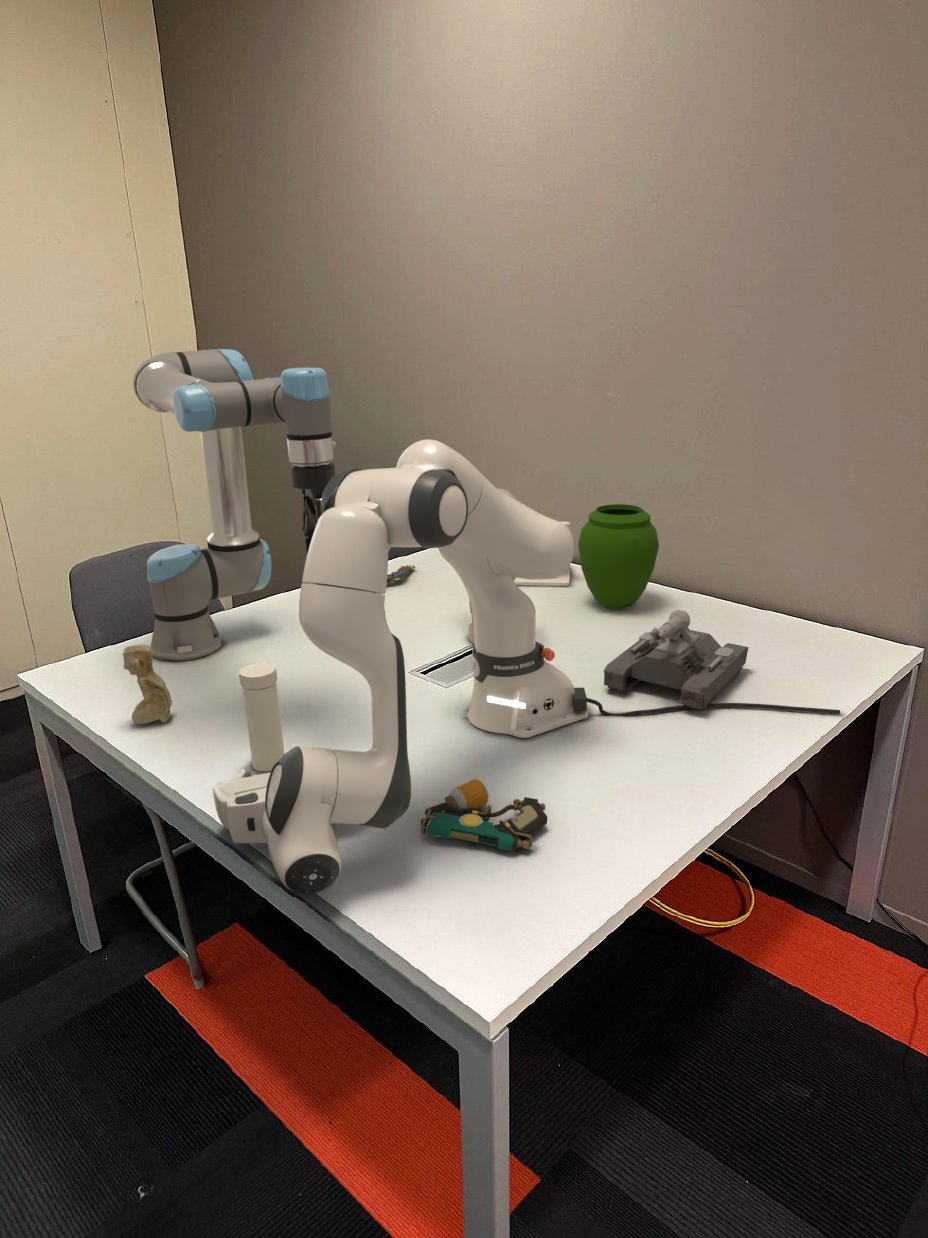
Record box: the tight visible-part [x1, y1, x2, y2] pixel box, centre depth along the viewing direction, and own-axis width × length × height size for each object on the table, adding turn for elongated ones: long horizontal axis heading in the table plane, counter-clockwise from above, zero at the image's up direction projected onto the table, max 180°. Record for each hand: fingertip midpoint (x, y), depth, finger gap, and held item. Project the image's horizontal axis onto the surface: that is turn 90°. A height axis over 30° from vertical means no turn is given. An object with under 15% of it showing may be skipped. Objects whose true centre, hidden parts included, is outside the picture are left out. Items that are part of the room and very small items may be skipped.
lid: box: [238, 662, 278, 689], centre depth 140 cm, size 6×6×2 cm
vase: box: [577, 503, 660, 610], centre depth 210 cm, size 20×20×24 cm
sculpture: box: [122, 644, 173, 725], centre depth 159 cm, size 6×7×15 cm
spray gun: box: [420, 778, 548, 852], centre depth 125 cm, size 4×17×15 cm
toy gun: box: [387, 564, 417, 584], centre depth 239 cm, size 3×19×10 cm
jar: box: [241, 682, 285, 773], centre depth 143 cm, size 6×6×17 cm
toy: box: [603, 609, 749, 711], centre depth 169 cm, size 25×20×15 cm
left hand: (323, 582), depth 152 cm, fingers open, 13 cm apart
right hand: (276, 764), depth 134 cm, fingers open, 8 cm apart
